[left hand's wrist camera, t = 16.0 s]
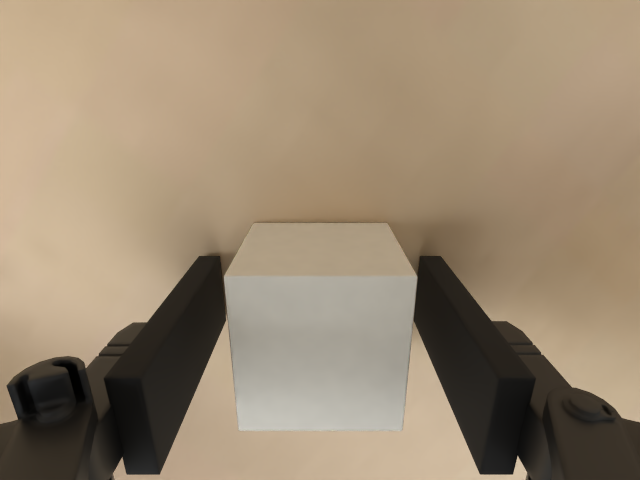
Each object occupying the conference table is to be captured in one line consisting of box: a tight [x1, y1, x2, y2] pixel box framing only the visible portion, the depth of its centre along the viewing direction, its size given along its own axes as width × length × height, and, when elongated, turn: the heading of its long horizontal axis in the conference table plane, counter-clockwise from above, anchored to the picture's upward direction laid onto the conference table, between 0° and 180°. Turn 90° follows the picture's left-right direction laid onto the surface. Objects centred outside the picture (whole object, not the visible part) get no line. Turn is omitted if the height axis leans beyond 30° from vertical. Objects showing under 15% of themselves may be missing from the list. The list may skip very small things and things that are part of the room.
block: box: [224, 223, 417, 431], centre depth 12 cm, size 5×5×4 cm
